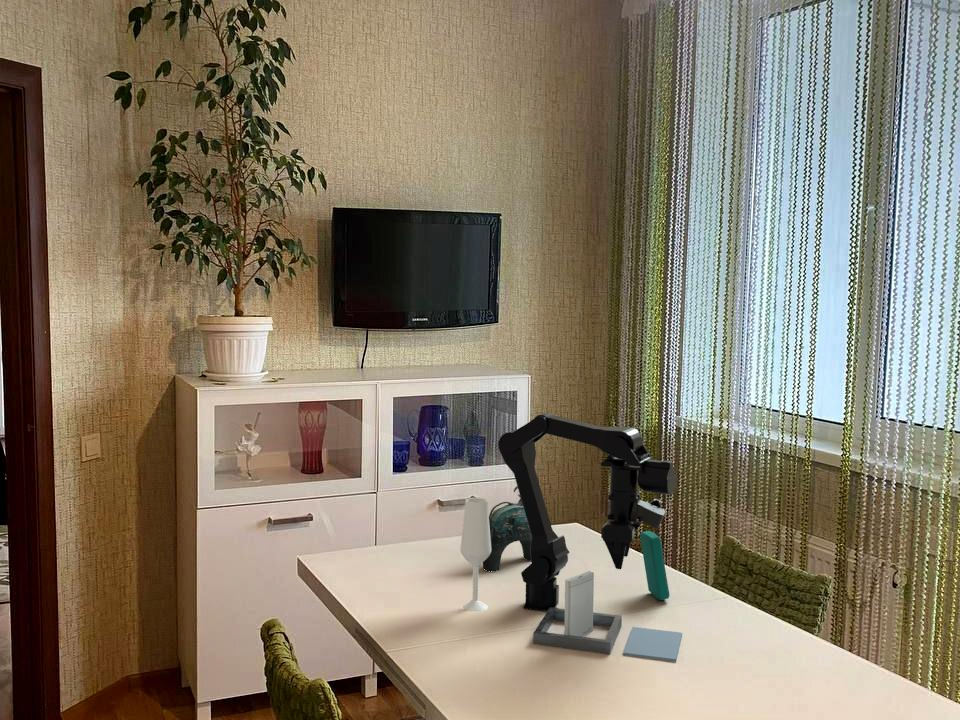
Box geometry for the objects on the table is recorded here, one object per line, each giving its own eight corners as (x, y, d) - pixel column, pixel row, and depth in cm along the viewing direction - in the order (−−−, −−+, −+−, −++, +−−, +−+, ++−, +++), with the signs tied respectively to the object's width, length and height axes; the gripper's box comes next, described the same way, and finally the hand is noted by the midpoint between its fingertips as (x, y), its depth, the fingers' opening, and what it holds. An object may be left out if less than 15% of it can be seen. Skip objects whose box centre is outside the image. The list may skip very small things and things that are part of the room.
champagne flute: (454, 611, 204) (456, 502, 202) (466, 601, 210) (468, 495, 208) (483, 615, 202) (485, 505, 199) (495, 605, 208) (496, 498, 206)
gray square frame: (533, 645, 186) (533, 633, 186) (549, 618, 200) (549, 607, 200) (610, 655, 181) (610, 642, 181) (621, 627, 196) (621, 615, 196)
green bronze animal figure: (532, 555, 246) (534, 479, 244) (550, 560, 241) (552, 483, 239) (476, 570, 232) (477, 490, 231) (494, 576, 228) (495, 495, 226)
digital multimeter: (660, 603, 210) (672, 600, 211) (649, 538, 209) (662, 535, 210) (648, 594, 217) (660, 591, 218) (638, 531, 216) (650, 528, 217)
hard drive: (593, 631, 193) (595, 572, 192) (569, 643, 187) (570, 581, 186) (587, 629, 194) (588, 570, 193) (562, 640, 188) (564, 580, 187)
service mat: (623, 655, 181) (623, 652, 181) (632, 629, 195) (632, 626, 195) (676, 662, 179) (676, 659, 178) (682, 635, 192) (682, 632, 192)
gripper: (658, 502, 185) (656, 580, 186) (667, 482, 202) (665, 553, 204) (601, 497, 188) (599, 574, 189) (615, 478, 206) (613, 548, 207)
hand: (621, 562), depth 197 cm, fingers open, 9 cm apart
